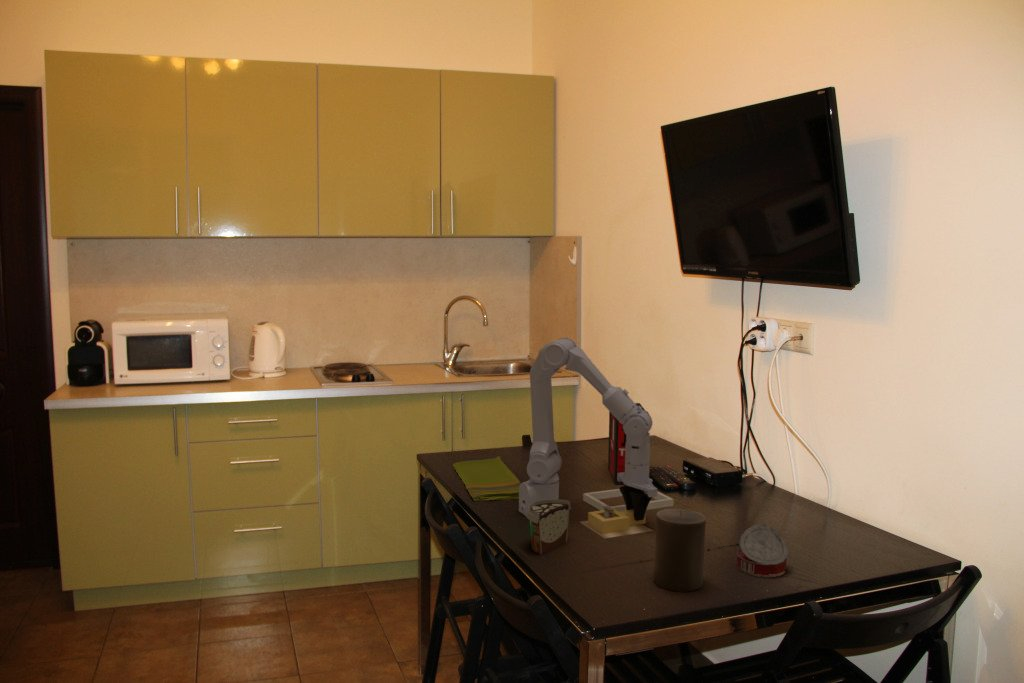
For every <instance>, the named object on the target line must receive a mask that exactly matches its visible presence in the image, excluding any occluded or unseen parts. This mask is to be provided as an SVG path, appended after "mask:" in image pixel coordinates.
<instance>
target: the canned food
mask: <svg viewBox="0 0 1024 683" xmlns="http://www.w3.org/2000/svg"><path fill="white" fill-rule="evenodd" d="M739 546H740V549H739V550H738V551H737V552H736V554H737V558H736V567H737V566H738V567H739V568H740V569H742V570H743V571H746V572H750V573H754V574H761V575H769V574H778V573H781V572H783V571H785V569H786V570H787V557H788V556H789V548H788V546H787V541H786V539H784V536H782V534H781V532H779V531H778V530H777V528H776V527H774V526H772V525H768V524H766V523H760V524H759V523H758V524H754V525H753V526H751V527H749V528H746V529H745V530H744V532H743V533H742V534H741V536H740V539H739Z"/></svg>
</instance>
